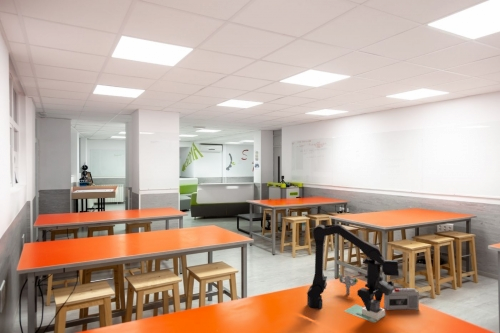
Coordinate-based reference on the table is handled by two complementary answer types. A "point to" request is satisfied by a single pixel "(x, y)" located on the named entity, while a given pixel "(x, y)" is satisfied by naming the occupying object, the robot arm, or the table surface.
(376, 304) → the plug
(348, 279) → the mechanical component
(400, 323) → the table surface
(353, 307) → the board
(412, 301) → the cassette player
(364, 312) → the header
